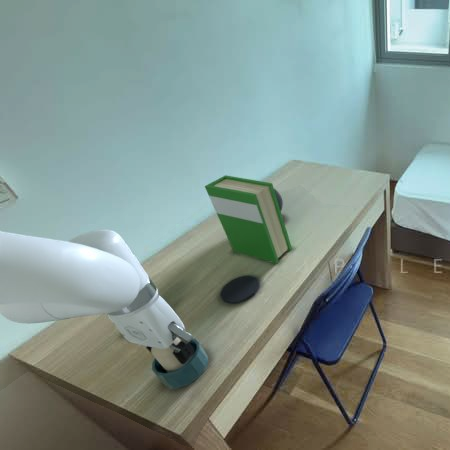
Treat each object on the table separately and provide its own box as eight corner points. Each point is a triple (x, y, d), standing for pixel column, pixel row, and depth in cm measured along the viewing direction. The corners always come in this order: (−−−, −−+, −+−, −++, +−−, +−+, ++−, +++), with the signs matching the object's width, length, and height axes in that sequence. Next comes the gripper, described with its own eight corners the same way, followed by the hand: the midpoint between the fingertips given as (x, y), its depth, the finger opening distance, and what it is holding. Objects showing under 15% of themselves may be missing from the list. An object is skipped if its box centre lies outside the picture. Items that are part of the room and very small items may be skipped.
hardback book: (292, 249, 101) (272, 183, 87) (277, 263, 95) (253, 195, 81) (250, 238, 106) (225, 175, 92) (233, 251, 101) (204, 186, 87)
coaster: (245, 306, 81) (244, 304, 81) (213, 301, 83) (212, 299, 83) (266, 279, 89) (265, 277, 89) (236, 275, 91) (235, 273, 91)
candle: (190, 379, 65) (168, 351, 59) (165, 379, 65) (140, 352, 59) (204, 355, 69) (185, 327, 63) (180, 355, 69) (159, 327, 64)
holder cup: (187, 392, 63) (176, 379, 60) (153, 384, 65) (141, 370, 62) (216, 354, 70) (208, 341, 67) (185, 347, 72) (175, 334, 69)
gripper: (69, 304, 53) (126, 363, 63) (150, 319, 49) (196, 380, 60) (111, 274, 59) (157, 333, 69) (186, 286, 55) (223, 346, 66)
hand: (175, 354), depth 64 cm, fingers closed on candle, 5 cm apart
